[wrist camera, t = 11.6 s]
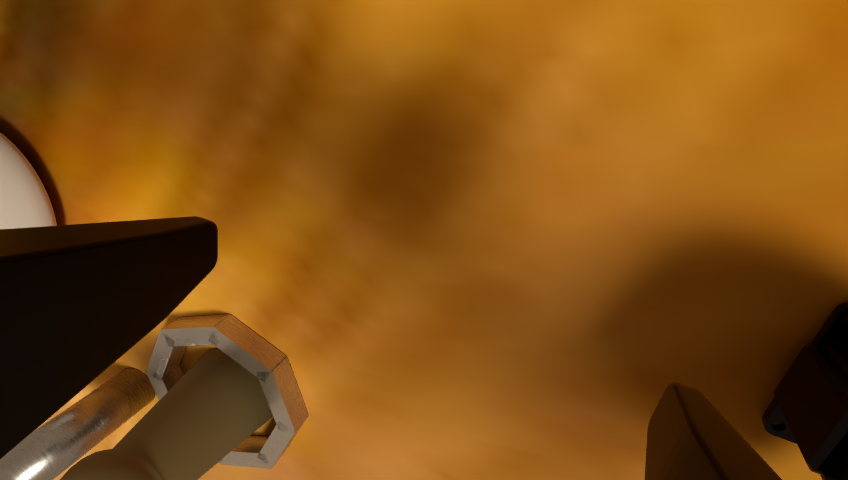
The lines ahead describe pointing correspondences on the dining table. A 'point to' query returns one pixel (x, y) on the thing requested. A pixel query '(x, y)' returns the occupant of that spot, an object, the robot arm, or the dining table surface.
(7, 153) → the flower in vase
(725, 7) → the dining table surface
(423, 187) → the dining table surface
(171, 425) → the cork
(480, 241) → the dining table surface
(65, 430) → the octagon frame
